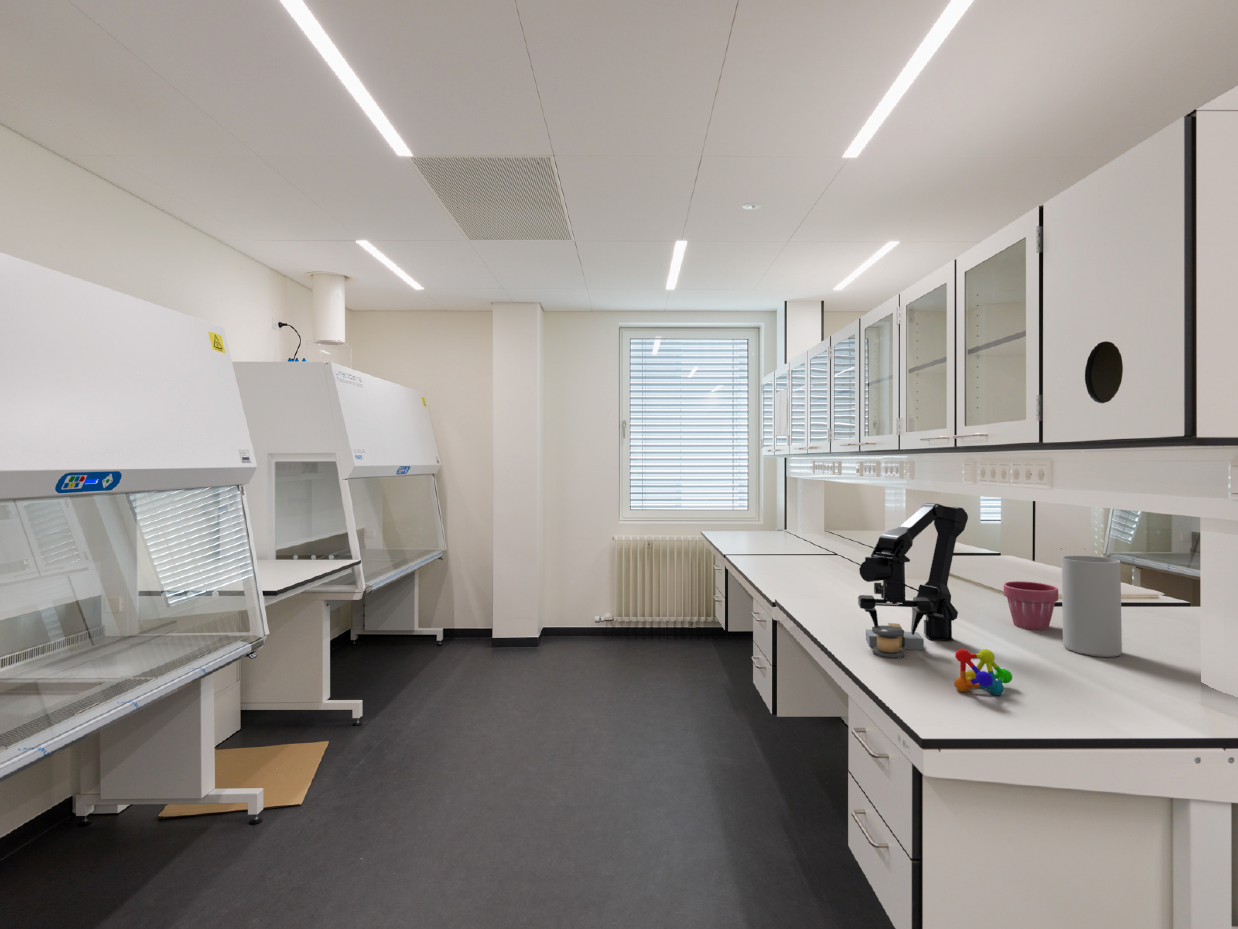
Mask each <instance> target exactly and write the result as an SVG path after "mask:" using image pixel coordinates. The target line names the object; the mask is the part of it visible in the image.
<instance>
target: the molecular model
mask: <svg viewBox="0 0 1238 929" xmlns="http://www.w3.org/2000/svg"><path fill="white" fill-rule="evenodd" d="M954 657H955V659H956V660H957V662H959V663H960V665H959V666H960V667H959V668H960V669H959V671H960V672H959V677H957V678H956V679H955V681H954V687H955V688H956V690H958V691H959V692H961V693H968V692H969V691H970V689H980V690H988V692H989V693H990V694H991V695H992V696H1001V695H1002V694H1003V693H1004V690H1005V688H1004V685H1003V684H1008V683H1010V682H1011V681H1012V680H1013V674H1012V672H1011V671H1010V670H1008V669H1006V668H1001V667H1000V666H999V665H998V664H997V663H996V661H995V658H996V656H995V654H994V652H993V651H992V650H990V649H987V648H986V649H981V650H980V651H978V653H971V652H970V651H969V650H968V649H966V648H959V649H957V650H956V651H955V656H954ZM973 659H974V660H979V662H978V663H977V665H976V664H975V663H974V662H973V661H972V660H973ZM967 666H968V667H969V668H971V670H967V668H966V667H967ZM984 666H986V670H987V671H984V670H982V669H983V668H984ZM981 670H982V671H981ZM994 670H995V671H996V672H995V671H994Z"/></svg>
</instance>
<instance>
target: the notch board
mask: <svg viewBox="0 0 1238 929" xmlns="http://www.w3.org/2000/svg"><path fill="white" fill-rule="evenodd" d="M865 641H866V642H867V645H868V647H869V648H874V647H877V634H875V633H873V632H872V629H867V628H866V629H865ZM924 644H925V642H924V638H923V636H922V635H921V634H920V633H919V632H918V631H915V633H914V635H912V634H911V631H905V630H904V635H903V636H902V648H904V649H906V650H916V651H917V650H919V651H924V650H925V647H924V646H925V645H924Z"/></svg>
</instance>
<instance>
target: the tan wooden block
mask: <svg viewBox="0 0 1238 929" xmlns="http://www.w3.org/2000/svg"><path fill="white" fill-rule="evenodd" d="M887 626H893V627H898V628H901V629H903V628H902V626H901V624H900V623H892V622H888V623H887ZM899 644H900V649H901V650H903V645H902V636H899Z"/></svg>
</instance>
